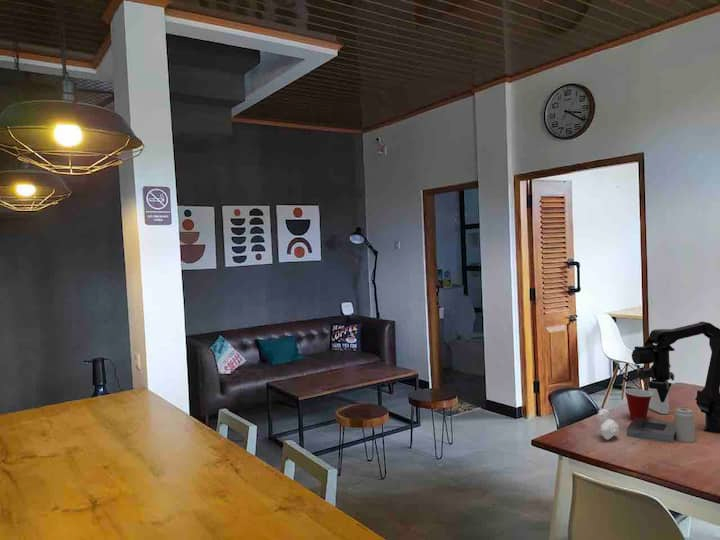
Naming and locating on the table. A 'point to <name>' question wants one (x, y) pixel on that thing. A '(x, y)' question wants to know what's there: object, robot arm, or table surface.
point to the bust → (607, 424)
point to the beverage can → (684, 425)
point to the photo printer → (658, 402)
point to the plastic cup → (638, 402)
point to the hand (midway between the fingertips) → (662, 401)
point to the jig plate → (652, 430)
